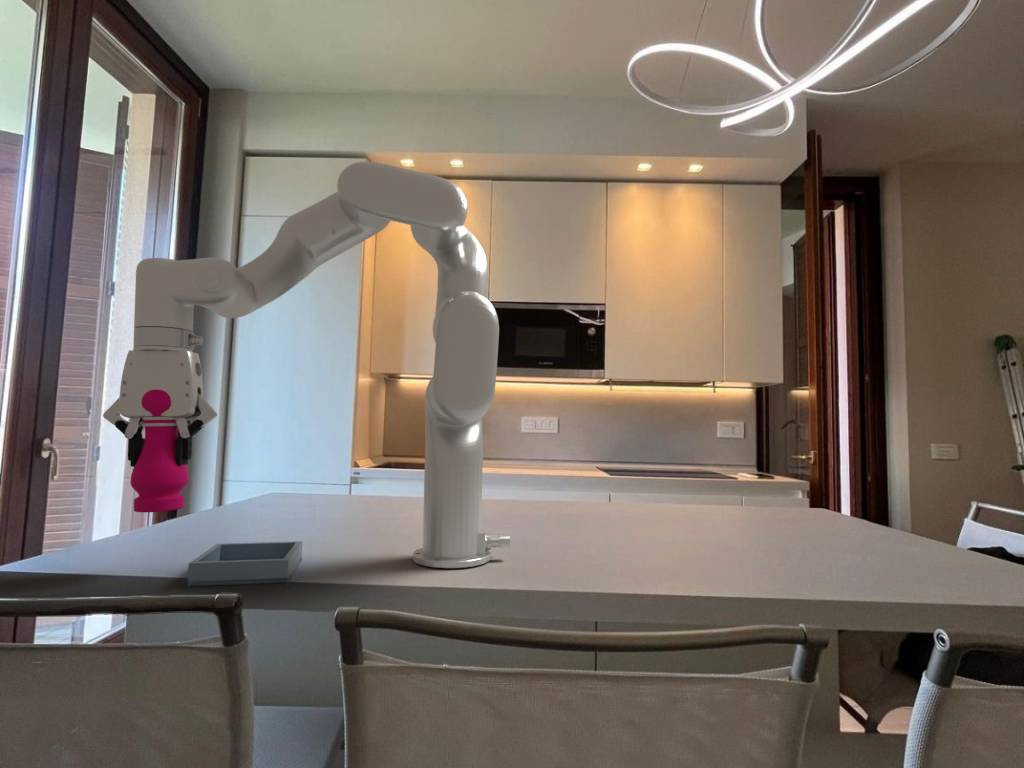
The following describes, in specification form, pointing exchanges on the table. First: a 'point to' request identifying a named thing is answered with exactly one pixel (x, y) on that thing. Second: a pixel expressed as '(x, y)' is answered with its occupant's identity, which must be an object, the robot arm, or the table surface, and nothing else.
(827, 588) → the table surface
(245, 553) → the tray
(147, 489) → the pepper mill
